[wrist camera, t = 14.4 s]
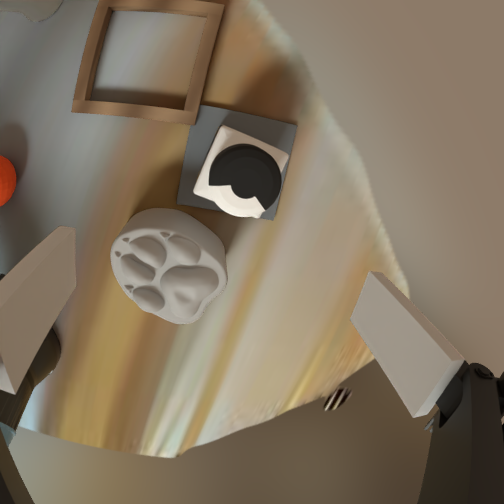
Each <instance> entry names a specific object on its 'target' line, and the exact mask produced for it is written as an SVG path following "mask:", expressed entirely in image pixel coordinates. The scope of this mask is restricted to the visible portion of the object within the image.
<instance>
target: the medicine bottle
mask: <svg viewBox="0 0 504 504" xmlns="http://www.w3.org/2000/svg"><path fill="white" fill-rule="evenodd" d="M288 157H289V155H288V154H287V153H286V152H283V151H281V150H279V149H277V148H275V147H273V146H271V145H269V144H266V143H264V142H262V141H260V140H258V139H255V138H253V137H251V136H248V135H246V134H244V133H241V132H239V131H237V130H234V129H232V128H230V127H227V126H225V125H220V126H219V127H218V130H217V132H216V134H215V136H214V139H213V141H212V143H211V145H210V148H209V150H208V152H207V154H206V157H205V159H204V161H203V164H202V166H201V169H200V171H199V173H198V176H197V178H196V182H195V186H194V190H193V192H194V193H195V194H196V195H199V196H201V197H204V198H206V199H209V200H212V201H214V202H215V203H216V204H217V205H218V206H219V207H220V208H221V209H222V210H223V211H225V212H227V213H229V214H231V215H234V216H238V217H250V216H252V217H255V218H260V216H261V214H262V212H264V211H266V210H267V209H268V208H269V207H270V206H271V205H272V204H273V203H274V202H275V201H276V199H277V197H278V195H279V193H280V190H281V184H282V177H281V172H282V170H283V168H284V166H285V164H286V162H287V160H288Z"/></svg>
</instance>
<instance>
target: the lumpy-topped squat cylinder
mask: <svg viewBox="0 0 504 504" xmlns="http://www.w3.org/2000/svg"><path fill="white" fill-rule="evenodd" d="M111 264H112V269H113V272H114V275H115V277H116V279H117V281H118V283H119V284H120V286H121V287H122V289H123V290H124V292H125V293H126V295H127V296H128V297H129V298H131V299H132V300H133V301H135V302H136V303H137V305H138V306H139V307H140V308H141V309H142V310H144V311H146V312H149V313H153V314H155V315H157V316H159V317H161V318H163V319H165V320H167V321H170V322H173V323H176V324H188V323H192V322H195V321H196V320H198V319H199V318H200V317H201V316H202V314H203V313H204V311H205V309H206V307H207V306H208V304H209V303H210V302H211V301H212V300H213V299H214V298H215V297H217V296H218V295H219V294H220V293H221V292H222V291H223V290H224V289H225V287H226V285H227V281H228V276H227V266H226V256H225V248H224V245H223V243H222V241H221V240H220V239H219V237H218V236H217V235H216V234H214V233H213V232H212V231H211V230H210V229H208V228H207V227H206V226H205V225H204V224H202V223H201V222H199V221H198V220H196V219H195V218H193V217H192V216H190V215H188V214H186V213H185V212H182V211H180V210H176V209H169V208H151V209H147V210H143V211H141V212H138V213H137V214H135V215H134V216H132V217H131V218H130V220H129V221H128V222H127V224H126V225H125V226H124V228H123V229H122V231H121V232H120V233H119V235H118V236H117V238H116V239H115V240H114V242H113V244H112V248H111Z"/></svg>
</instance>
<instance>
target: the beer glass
mask: <svg viewBox="0 0 504 504" xmlns="http://www.w3.org/2000/svg"><path fill="white" fill-rule="evenodd" d="M61 3H62V0H0V11H7V12H18V13H21V14H23V15H24V16H25V17H26V18H27V19H28V20H30V21H32V22H40V21H43V20H45V19H47V18H49V17H50V16H51V15H53V14H54V13H55V12H56V10H57V9H58V8H59V6H60V5H61Z"/></svg>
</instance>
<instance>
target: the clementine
mask: <svg viewBox="0 0 504 504" xmlns="http://www.w3.org/2000/svg"><path fill="white" fill-rule="evenodd" d="M15 187H16V172H15V169H14V166H13V165H12V163H11V162H10V161H9V160H8V159H7V158H5V157H3V156H1V155H0V207H1V206H2V205H4V204H5V203H6V202H7V201H8V200H9V199H10V198H11V196H12V194H13V192H14V190H15Z"/></svg>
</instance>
